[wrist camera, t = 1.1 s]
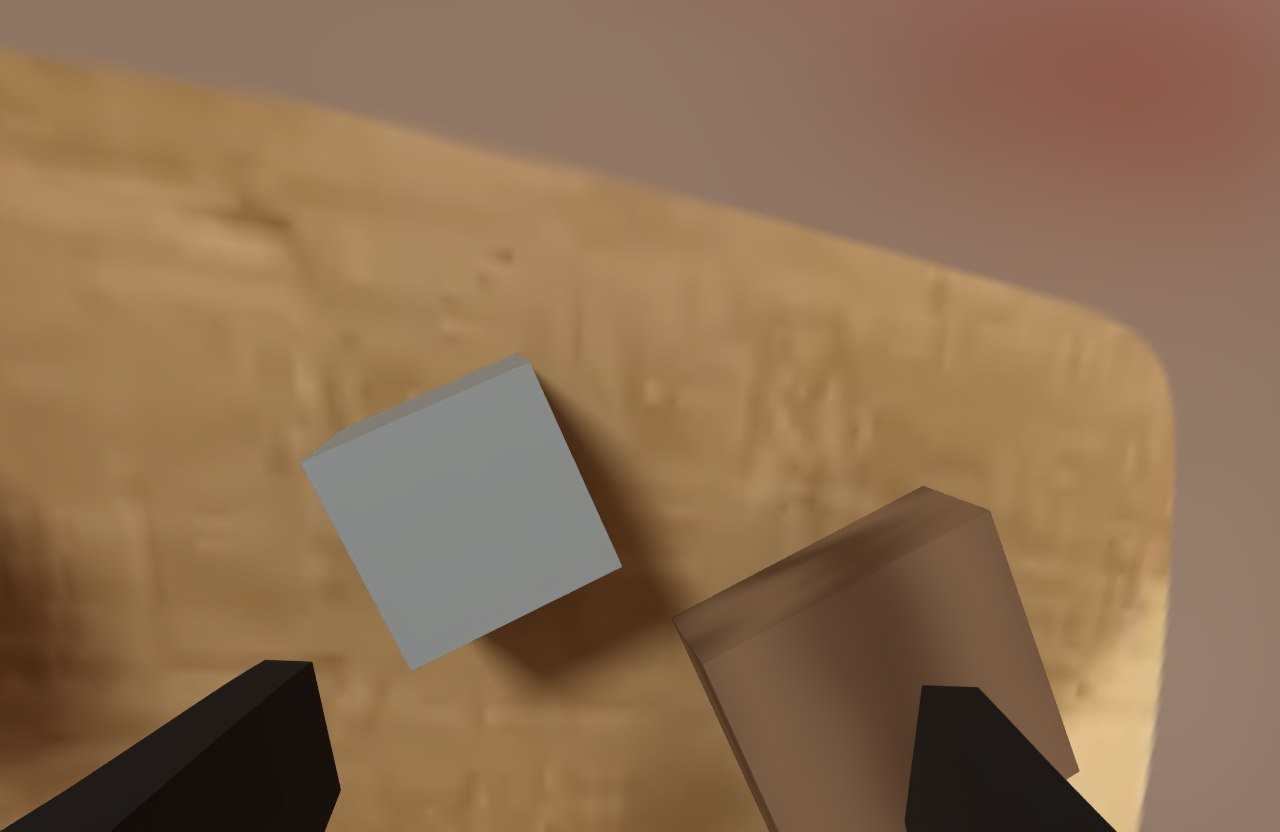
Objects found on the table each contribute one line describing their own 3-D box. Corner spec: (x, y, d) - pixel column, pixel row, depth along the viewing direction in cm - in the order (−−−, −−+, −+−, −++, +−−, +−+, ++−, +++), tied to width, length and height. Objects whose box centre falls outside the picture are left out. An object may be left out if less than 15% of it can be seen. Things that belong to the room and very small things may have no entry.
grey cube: (425, 590, 21) (411, 671, 16) (342, 429, 20) (300, 462, 15) (588, 512, 22) (622, 566, 17) (516, 353, 21) (529, 361, 16)
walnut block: (774, 844, 24) (822, 928, 21) (668, 613, 23) (702, 664, 19) (999, 712, 26) (1079, 771, 22) (917, 484, 24) (989, 510, 21)
